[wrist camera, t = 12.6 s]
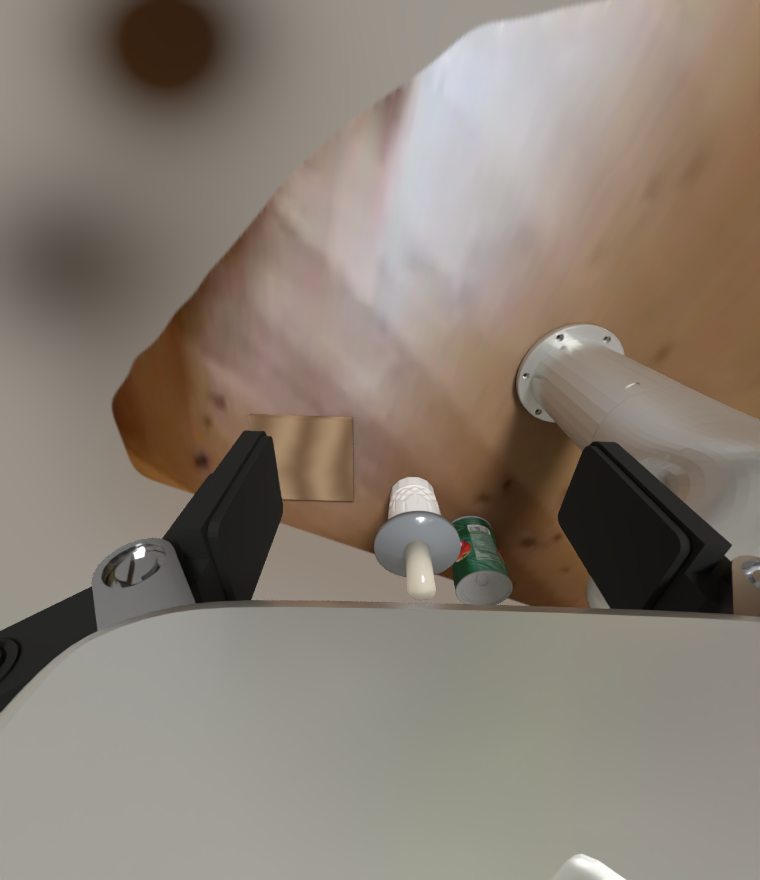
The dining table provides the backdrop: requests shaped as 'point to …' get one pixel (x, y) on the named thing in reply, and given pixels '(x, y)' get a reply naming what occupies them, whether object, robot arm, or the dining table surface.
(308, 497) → the cork mat
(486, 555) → the canned tomato
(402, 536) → the lid
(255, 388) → the dining table surface
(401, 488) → the white cup
